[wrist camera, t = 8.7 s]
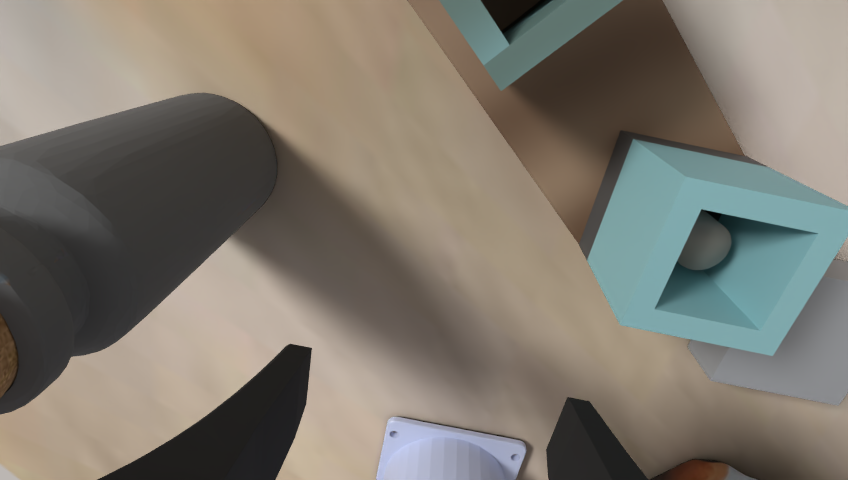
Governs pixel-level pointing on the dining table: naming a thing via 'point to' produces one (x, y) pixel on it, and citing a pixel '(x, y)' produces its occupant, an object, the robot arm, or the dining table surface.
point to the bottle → (116, 225)
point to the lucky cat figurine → (702, 471)
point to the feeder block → (795, 349)
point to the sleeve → (670, 228)
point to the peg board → (583, 92)
